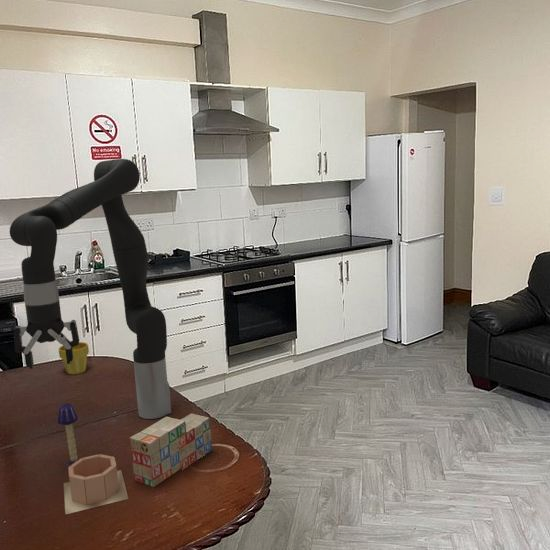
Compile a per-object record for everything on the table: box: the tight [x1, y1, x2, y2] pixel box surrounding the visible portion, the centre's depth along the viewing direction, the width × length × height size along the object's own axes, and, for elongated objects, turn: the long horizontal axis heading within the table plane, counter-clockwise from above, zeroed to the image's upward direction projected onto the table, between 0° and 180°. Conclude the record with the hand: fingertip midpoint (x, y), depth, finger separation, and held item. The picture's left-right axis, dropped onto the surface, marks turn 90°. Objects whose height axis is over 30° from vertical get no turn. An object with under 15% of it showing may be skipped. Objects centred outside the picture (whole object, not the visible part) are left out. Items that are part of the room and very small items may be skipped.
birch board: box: [63, 469, 129, 515], centre depth 125 cm, size 13×13×1 cm
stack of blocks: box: [129, 413, 213, 488], centre depth 135 cm, size 21×6×12 cm, turn 148°
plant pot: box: [58, 341, 90, 375], centre depth 204 cm, size 10×10×10 cm
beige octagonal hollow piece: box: [67, 453, 119, 505], centre depth 124 cm, size 10×10×6 cm
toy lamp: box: [57, 402, 80, 467], centre depth 136 cm, size 5×5×17 cm
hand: (50, 365), depth 134 cm, fingers open, 8 cm apart
